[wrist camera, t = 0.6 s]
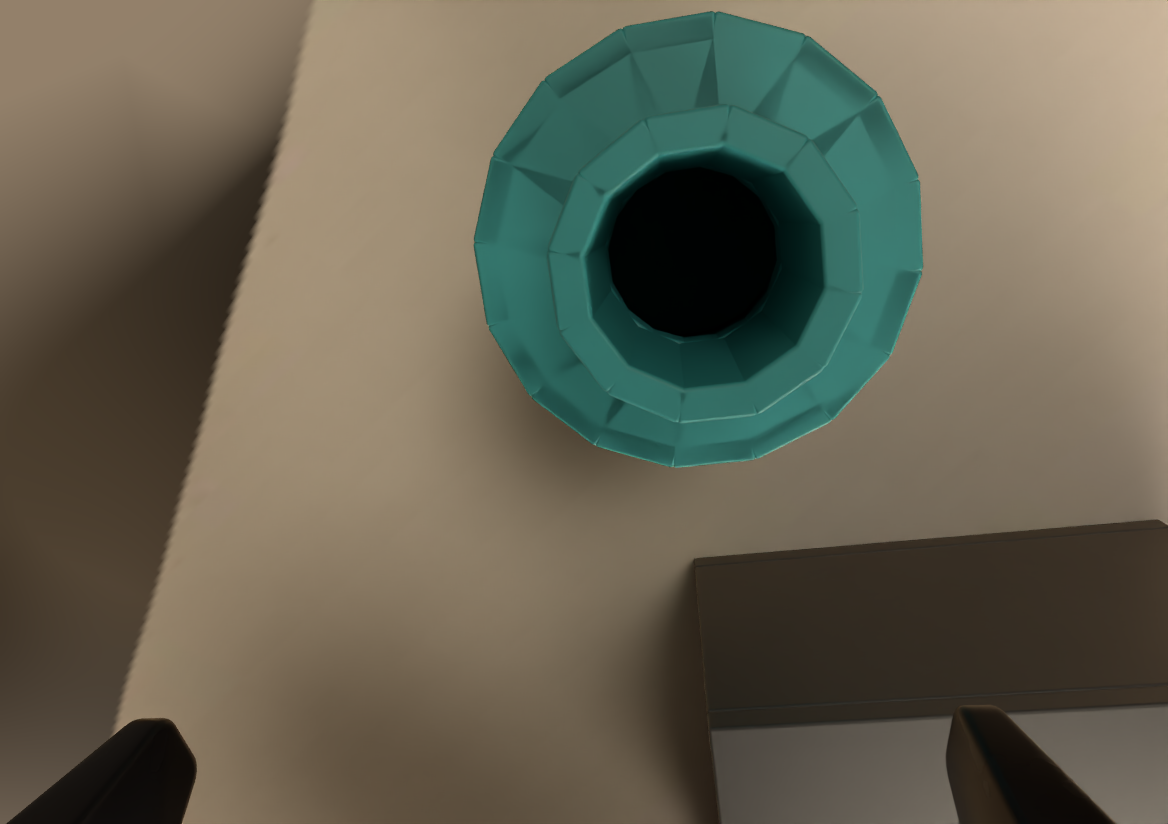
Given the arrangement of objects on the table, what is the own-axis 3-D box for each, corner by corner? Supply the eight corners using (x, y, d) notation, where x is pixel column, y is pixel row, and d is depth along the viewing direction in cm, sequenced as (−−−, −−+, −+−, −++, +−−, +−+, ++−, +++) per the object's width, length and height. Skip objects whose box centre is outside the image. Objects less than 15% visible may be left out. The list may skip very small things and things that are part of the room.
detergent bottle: (801, 330, 22) (1022, 523, 8) (584, 356, 23) (465, 571, 9) (784, 98, 20) (1018, -124, 7) (552, 134, 21) (357, -1, 8)
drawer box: (1159, 518, 22) (1432, 689, 14) (1145, 871, 25) (1366, 1176, 17) (693, 557, 24) (708, 729, 16) (730, 883, 27) (758, 1165, 19)
